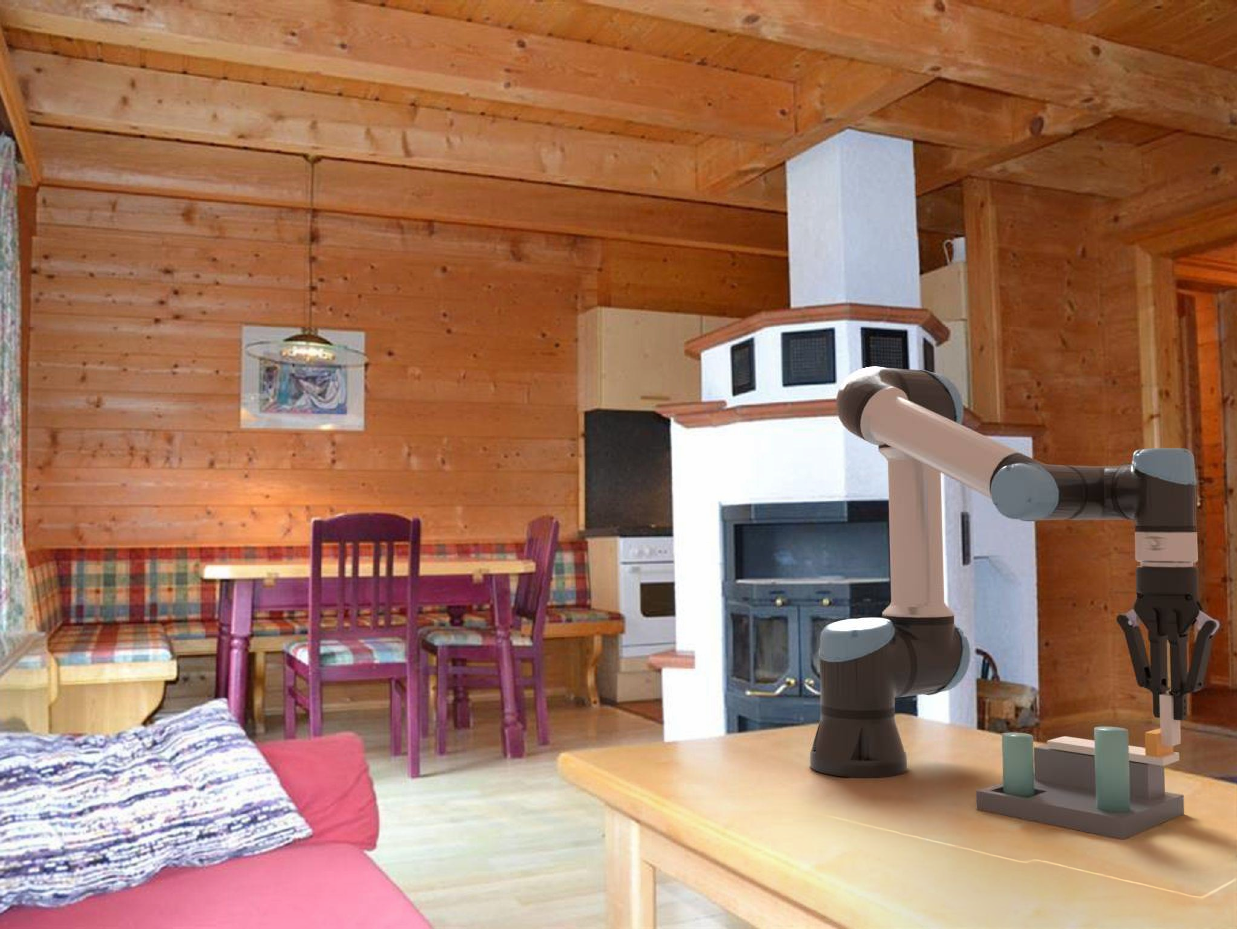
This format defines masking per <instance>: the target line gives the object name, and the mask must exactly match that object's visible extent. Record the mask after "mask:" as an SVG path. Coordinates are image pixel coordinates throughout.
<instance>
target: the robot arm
mask: <svg viewBox="0 0 1237 929" xmlns="http://www.w3.org/2000/svg"><path fill="white" fill-rule="evenodd" d="M963 403H964V402H963V398H962V396H961V392H960V391H959V389H958V388H957V386H956V385H955V383H954V382H952V381H951V379H949V378H948V377H946V375H943V374H941V373H938V372H937V373H936V372H931V371H928V370H926V369H908V368H907V369H906V368H893V367H883V366H882V367H881V366H869V367H865V368H862V369H858V370H857V371H855V372H853V373H851V374H850V375H849V376H848V377H846V379H845V380H844V381H843V382H842V383H841V385H840V387H839V389H838V392H837V394H836V400H835V407H836V413H837V416H838V419H839V421H840V422H841V425H843V427H844V428H845V429H846V430H847V431H848V432H850V433H851V434H853V435H855V436H856V437H858V438H859V439H862V440H864V441H866V442H868V443H870V444H871V445H875V446H878V447H877V448H878V450H877V451H878V452H879V453H880V454H881V455H882V456H883V458H885V459H886V461H887V474H888V475H887V476H888V483H887V484H888V486H887V487H888V521H889V522H888V523H889V524H888V525H889V555H890V556H889V558H890V559H889V560H890V563H889V564H890V565H889V566H890V595H891V596H890V599H891V601H890V604H889V605H888V606H886V608H885V609H884V610H883V611H882V617H860V618H848V619H843V620H838V621H835V622H832V623H829V624H826V625H825V627H824V628H822V631H821V632H820V635H819V637H820V639H819V641H820V642H819V649H818V656H819V685H820V689H819V690H820V694H819V695H820V719H819V723H818V726H817V730H816V733H815V736H814V739H813V743H812V747H811V750H810V752H809V756H810V757H809V764H810V768H811V769H812V770H813V771H817V772H819V773H822V774H826V775H830V776H837V777H845V778H859V779H860V778H862V779H863V778H864V779H869V778H872V779H875V778H889V777H895V776H899V775H902V774H904V773H906V772H907V771H908V757H907V756H908V755H907V752H906V751H905V749H904V744H903V741H902V738H901V735H900V732H899V729H898V726H897V722H896V713H895V712H896V711H895V709H896V706H895V705H896V704H895V702H896V700H895V698H902V697H903V698H905V697H912V696H920V695H924V696H925V695H926V696H933V695H936V694H939V693H942V692H947V691H950V690H952V689H953V688H955V687H956V686H958V685H959V683H961V682H962V680H963V679H964V678H965V676H966V674H967V672H968V670H969V666H970V661H971V648H970V643H969V640H968V638H967V636H965V634H964V631H963V629H961V627H960V626H958V625H956V624H955V613H954V612H953V611H952V610H951V609H950V607H949V606H947V604H946V603H945V583H944V582H945V581H944V580H945V579H944V575H945V574H944V548H943V546H944V543H943V541H944V540H943V510H942V509H943V507H942V506H943V505H942V504H943V503H942V474H943V475H945V476H947V477H949V478H951V479H952V480H955V481H956V482H958V483H960V484H962V485H964V486H966V487H967V488H970V489H971V490H973V491H975V492H977V493H980V494H981V495H983V496H985V497H987V498H989V499H991V501H992V503H993V505H994V506H995V508H996V509H997V511H998V513H1000V514H1001V515H1002V516H1004V517H1005V518H1008V519H1011V520H1019V521H1022V522H1023V521H1024V522H1037V521H1063V520H1064V521H1067V520H1068V521H1086V522H1087V521H1088V522H1089V521H1094V520H1095V521H1096V520H1097V521H1105V520H1106V521H1107V520H1108V521H1109V520H1111V521H1113V520H1129V521H1130V520H1133V522H1134V525H1133V526H1134V541H1135V542H1134V549H1135V550H1134V554H1135V558H1134V560H1135V561H1136V562H1138V563H1140V565H1138V566H1136V568H1135V592H1136V593H1135V594H1136V598H1135V601H1134V603H1133V606H1132V607H1133V609H1130V610H1129V611H1128V612H1126V613H1124V614H1117V617H1116V622H1117V624H1118V625H1119V627H1120V628H1121V630H1122V631H1123V633H1124V636H1125V640H1126V646H1127V648H1128V653H1129V655H1130V660H1131V663H1132V669H1133V671H1134V676H1135V678H1136V679H1135V680H1136V683H1137V685H1138V687H1140V688H1144V689H1146V690H1149V691H1150V692H1151V694H1152V713H1153V714H1152V715H1153V717H1154V718H1156V719H1157V718H1158V719H1159V726H1160V727H1159V728H1160V738H1161V745H1166V746H1173V747H1174V746H1177V745H1180V744H1182V743H1181V741H1182V738H1181V736H1182V734H1181V731H1182V730H1181V721H1184V720H1187V717H1188V703H1187V702H1188V695H1189V694H1191V693H1194V692H1198V691H1201V690H1202V688H1203V686H1204V681H1205V677H1206V676H1205V675H1206V672H1207V668H1208V663H1209V659H1210V655H1211V650H1212V647H1213V641H1214V639H1215V636H1216V635H1217V633H1218V632H1219V630H1220V629H1221V628H1222V624H1223V623H1222V621H1221V620H1220V619H1214V618H1212V617H1211V616H1209V615H1208V614H1206V613H1204V609H1203V606H1202V605H1201V602H1200V599H1199V594H1200V592H1199V591H1200V589H1199V586H1200V585H1199V584H1200V583H1199V569H1197V566H1194V563H1197V562H1198V561H1199V551H1198V532H1197V485H1198V479H1197V476H1196V465H1195V456H1194V454H1193V452H1192V451H1190V450H1189V449H1186V448H1182V447H1181V448H1180V447H1172V448H1171V447H1165V448H1164V447H1163V448H1162V447H1160V448H1159V447H1158V448H1157V447H1156V448H1143V449H1137V450H1135V451H1134V452H1133V455H1132V461H1131V464H1127V465H1104V466H1103V465H1101V466H1100V465H1099V466H1098V465H1097V466H1095V465H1093V466H1091V465H1064V464H1047V463H1044V462H1041V461H1039V460H1037V459H1034V458H1032V457H1031V456H1028V455H1025V454H1023V453H1022V452H1020V451H1018V450H1015V449H1014V448H1012V447H1010V446H1007V445H1005V444H1003V443H1000V442H999V441H996V440H995V439H992V438H989V437H988V436H986V435H984V434H981V433H979V432H978V431H975V430H974V429H971V428H969V427H966V426H965V425H962V423H963V418H964V404H963ZM1140 622H1141V623H1142V624H1143V625H1144V626H1145V628H1146V629H1147V639H1148V642H1149V654H1150V656H1148V652H1147V648H1146V645H1145V641H1144V637H1143V634H1142V631H1141V630H1142V629H1141V628H1140ZM1196 623H1197V625H1196V628H1197V630H1198V633H1197V635H1196V637H1195V641H1194V642H1195V643H1194V647H1193V650H1192V654H1191V659H1190V663H1189V666H1188V642H1189V632H1190V630H1192V628H1193V627H1194V625H1195V624H1196ZM1168 643H1169V663H1170V664H1169V665H1170V666H1169V668H1170V673H1169V672H1168ZM1149 657H1150V659H1149ZM1188 668H1189V669H1188ZM1169 674H1170V687H1169V682H1168V681H1169V678H1168V677H1169V676H1168V675H1169Z"/></svg>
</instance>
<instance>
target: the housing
mask: <svg viewBox="0 0 1237 929" xmlns="http://www.w3.org/2000/svg"><path fill="white" fill-rule="evenodd" d="M1093 733H1094V734H1093V737H1094V738H1093V739H1094V742H1095V755H1089V754H1083V753H1076V752H1070V751H1063V750H1057V749H1050V748H1047V743H1045V744H1041V745H1037V746H1033V753H1034V796H1032V797H1028V798H1025V797H1020V796H1014V795H1009V794H1004V793H1003V782H1000V783H996V784H994V785H991V786H988V787H984V788H980V789H977V790H976V792H975V796H976V798H975V799H976V803H975V804H976V810H979V811H984V812H988V813H993V814H998V815H1002V816H1008V817H1013V818H1017V819H1023V820H1028V821H1032V822H1037V823H1041V824H1046V825H1051V826H1056V827H1061V828H1065V829H1070V830H1075V831H1080V832H1084V833H1085V832H1086V833H1089V834H1095V835H1099V836H1104V837H1109V838H1115V839H1119V840H1125V839H1127V838H1129V837H1132V836H1134V835H1137V834H1139V833H1141V832H1144V831H1147V830H1149V829H1152V828H1154V827H1156V826H1159V825H1161V824H1163V823H1165V822H1168V821H1170V820H1173V819H1176V818H1177V817H1180V816H1183V815H1185V801H1184V800H1185V798H1184V794H1179V793H1174V792H1168V791H1166V788H1165V787H1166V782H1165V781H1166V780H1165V765H1164V766H1161V765H1154V764H1148V763H1141V762H1135V761H1129V746H1130V745H1129V743H1130V742H1129V730H1128V729H1126V728H1122V727H1116V726H1097V727H1094V729H1093Z"/></svg>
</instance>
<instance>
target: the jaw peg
mask: <svg viewBox="0 0 1237 929" xmlns="http://www.w3.org/2000/svg"><path fill="white" fill-rule="evenodd" d="M1001 741H1002V742H1001V744H1002V745H1001V746H1002V747H1001V750H1002V752H1001V753H1002V754H1001V755H1002V783H1003V793H1004V794H1009V795H1014V796H1020V797H1025V798H1028V797H1032V796H1034V736H1033V735H1032V734H1029V733H1025V732H1004V733H1002V734H1001Z"/></svg>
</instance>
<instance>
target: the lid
mask: <svg viewBox="0 0 1237 929" xmlns="http://www.w3.org/2000/svg"><path fill="white" fill-rule="evenodd" d="M1046 744H1047V748H1050V749H1057V750H1063V751H1070V752H1076V753H1083V754H1089V755H1095V742H1094V740H1093V739H1085V738H1079V737H1072V736H1066V735H1065V736H1060V737H1056V738H1052V739H1049V740H1046ZM1129 761H1135V762H1141V763H1148V764H1154V765H1161V766H1164V767H1165V766H1167V765H1170V764H1173V763H1175V762H1179V761H1180V752H1175V751H1174V746H1166V745H1161V738H1160V727H1159V728H1155V729H1152V730H1149V731H1146V732H1144V747H1141V746H1134V745H1129Z"/></svg>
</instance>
